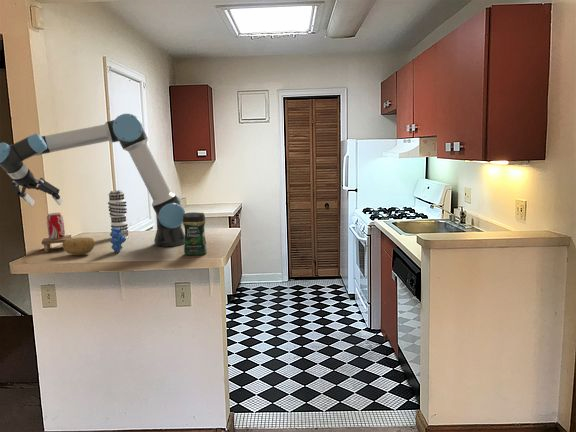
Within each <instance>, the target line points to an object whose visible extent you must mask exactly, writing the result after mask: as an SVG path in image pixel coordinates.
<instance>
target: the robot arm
mask: <svg viewBox="0 0 576 432" xmlns="http://www.w3.org/2000/svg"><path fill="white" fill-rule="evenodd" d="M148 140H149V137H148V136H147V134H146V132H145V129H144V128H143V124H142V121H141V120H140V119H139V118H138V117H137V116H136V115H134V114H131V113H122V114H120V115H118V116H116V118H115V119H113V120H108V121H106V122H104V124H99V125H94V126H89V127H85V128H79V129H73V130H69V131H63V132H58V133H52V134H47V135H46V134H45V135H41V134H40V133H33V134H31V135H28V136H27V137H25V138H23V139H21V140H19V141H17V142H15V143H11V144H8V143H6V142H0V167H1V168H2V169H3V170H4V172H6V174H7V175H8V176H9V177H10V178H11V179H12V182H11V185H12V187H13V190H14V195H15V197H20V198H22V199H23V200H24V201H25V202H27V203H28V205H30V207H33V206H34V205H35V202H36V201H35V200H34V198H32V197H31V196H30V194H28V192H26V190H37V191H41V192H44V193H46V194H48V195H50V196H51V198H52V199H53V200H54V201H55V203H56V204H57V205H58V206H61V205H62V203H63V198H61V195H59V193H60V191H61V190H60V189H59V188H58V187H56V186H54V185H53V184H51V183H50V182H48V181H46V179H44V178H43V177H40V178H39V179H37V178H35V176H34V174H33V172H32V171H31V170H30V169H29V167H28V166H27V165H26V164H25V163H24V162H23V161H26V160H27V159H30V158H32V157H35V156H42V155H46V154H50V153H53V152H54V153H55V152H59V151H65V150H69V149H75V148H79V147H85V146H90V145H96V144H101V143H106V142H110V143H118V142H119V144H120V146H121V147H122V150H124V151H126V152H128V153H129V156H130V157H131V160H132V162H133V163H134V166H135V167H136V169H137V171H138V173H139V176H140V177H141V179H142V181H143V183H144V185H145V187H146V189H147V191H148V193H149V195H150V198H151V200H152V204H151V206H152V208H153V211H154V212H155V217H156V232H155V236H154V241H153V243H154V245H155V246H156V247H162V248H163V247H177V246H181V245H185V231H184V230H183V227H182V225H183V215H184V214H185V213H186V211H185V208H184V207H183V206H182V205H181V200H180V197H179V196H177V194H176V193H174V192H171V189H170V188H169V186H168V184H167V182H166V180H165V178H164V176H163V174H162V171H161V169H160V168H159V165H158V164H157V161H156V160H155V157H154V155H153V154H152V151H151V150H150V148H149V146H148V143H147V142H148ZM20 186H21V187H22V188H21V187H20Z"/></svg>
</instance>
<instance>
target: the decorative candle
mask: <svg viewBox="0 0 576 432" xmlns="http://www.w3.org/2000/svg"><path fill="white" fill-rule="evenodd" d="M107 195H108V197H109V199H108V202H107V204H108V211H109V217H110V221H111V222H110V231H111V230H112V229H113V228H114V227H116V228H119V229H120V231H121V232H120V233H121V234H122V235H123V237H125V239H126V240H127V239H128V238H129V227H128V224H127V223H128V222H127V213H128V212H127V208H126V207H127V201H126V199H125V193H124V192H123V190H112V191H111V190H110V192H109V193H108V194H107Z"/></svg>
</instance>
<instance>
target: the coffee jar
mask: <svg viewBox="0 0 576 432" xmlns="http://www.w3.org/2000/svg"><path fill="white" fill-rule="evenodd" d="M205 224H206V216H205V213H204V212H185V214H184V215H183V223H182V225H183V227H184V235H185V244H183V245H184V249H183V250H184V255H186V256H202V255H205V254H206V253H207V252H208V248H207V247H208V246H207V241H206V232H205Z"/></svg>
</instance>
